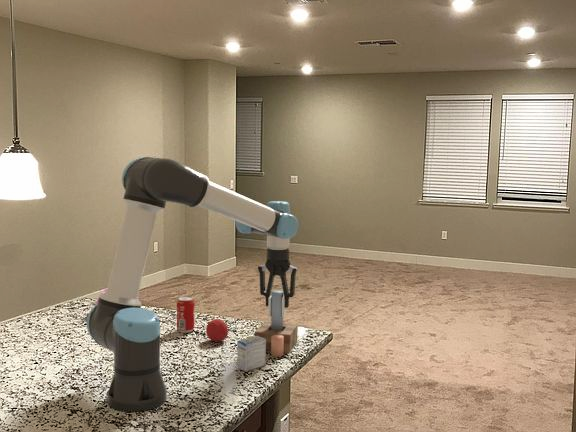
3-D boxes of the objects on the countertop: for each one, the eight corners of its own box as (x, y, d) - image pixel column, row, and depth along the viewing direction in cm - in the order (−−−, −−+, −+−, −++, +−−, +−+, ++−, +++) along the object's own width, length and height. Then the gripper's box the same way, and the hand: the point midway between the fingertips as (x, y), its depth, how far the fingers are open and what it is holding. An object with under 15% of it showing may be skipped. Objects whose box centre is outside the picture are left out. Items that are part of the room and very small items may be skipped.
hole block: (289, 352, 204) (290, 334, 204) (254, 349, 207) (254, 331, 206) (297, 341, 216) (297, 324, 215) (263, 338, 219) (263, 321, 218)
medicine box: (256, 362, 195) (256, 335, 194) (265, 365, 192) (266, 338, 191) (236, 368, 189) (237, 340, 188) (246, 372, 186) (246, 343, 185)
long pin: (281, 334, 209) (281, 293, 207) (269, 333, 210) (270, 292, 208) (283, 331, 213) (284, 291, 211) (272, 330, 213) (273, 290, 212)
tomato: (208, 319, 210) (225, 311, 216) (198, 329, 215) (214, 321, 221) (221, 339, 208) (237, 330, 214) (210, 349, 214) (226, 340, 219)
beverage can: (197, 330, 227) (198, 298, 226) (186, 334, 222) (186, 301, 220) (184, 327, 230) (184, 295, 229) (173, 331, 225) (173, 298, 224)
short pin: (281, 357, 200) (282, 339, 199) (269, 356, 201) (270, 338, 200) (284, 353, 204) (284, 335, 203) (272, 352, 205) (273, 334, 204)
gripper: (305, 247, 210) (303, 315, 212) (256, 244, 213) (255, 311, 216) (300, 250, 202) (299, 321, 205) (250, 248, 206) (249, 317, 209)
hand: (277, 316), depth 210 cm, fingers closed on long pin, 4 cm apart
